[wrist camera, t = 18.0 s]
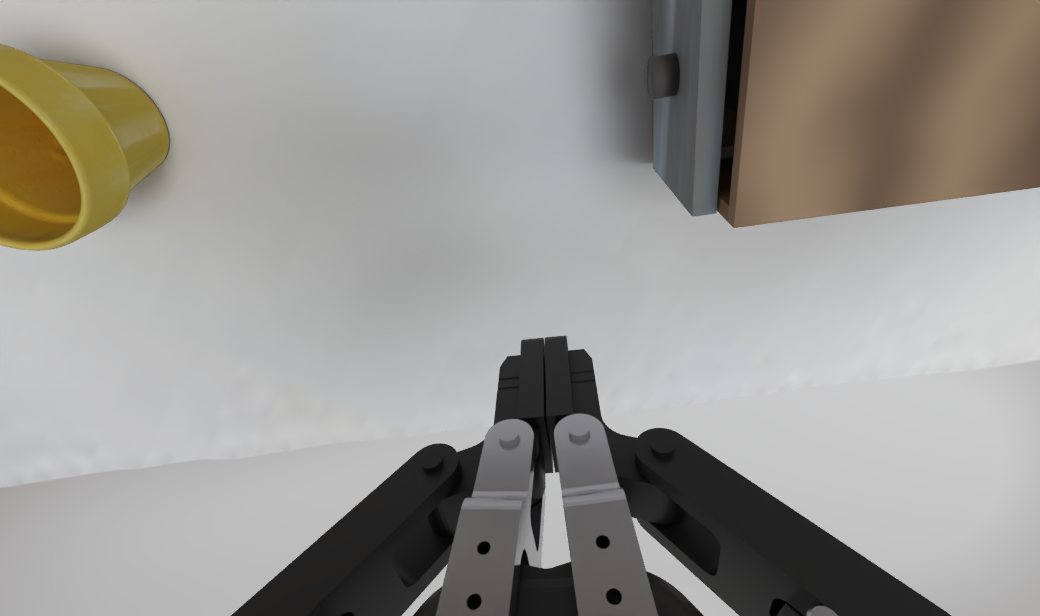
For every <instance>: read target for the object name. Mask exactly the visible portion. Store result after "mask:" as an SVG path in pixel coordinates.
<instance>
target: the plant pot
mask: <svg viewBox="0 0 1040 616" xmlns="http://www.w3.org/2000/svg"><path fill="white" fill-rule="evenodd" d="M168 149H169V135H168V130H167V127H166V124H165V121H164V119H163V117H162V115H161V113H160V111H159V110H158V108H157V107H156V105H155V104H154V103H153V101H152V100H151V99H150V98H149V97H148V96H147V94H146V93H145V92H144V91H143V90H141V89H140V88H139V87H138V86H137V85H135V84H134V83H133V82H131V81H130V80H128V79H126V78H125V77H123V76H121V75H119V74H117V73H115V72H112V71H109V70H106V69H102V68H97V67H91V66H84V65H77V64H70V63H63V62H56V61H49V60H42V59H37V58H35V57H33V56H31V55H29V54H27V53H25V52H22V51H20V50H17V49H14V48H12V47H9V46H6V45H2V44H0V245H3V246H6V247H11V248H16V249H23V250H37V251H40V250H49V249H55V248H59V247H62V246H65V245H67V244H70V243H72V242H74V241H76V240H78V239H80V238H82V237H84V236H86V235H88V234H90V233H92V232H93V231H95V230H97V229H99V228H100V227H102V226H104V225H105V224H107V223H108V222H110V221H111V220H113V219H114V218H115V217H116V216H117V215H118V214H119V213H120V212H121V211H122V209H123V207H124V206H125V204H126V202H127V199H128V196H129V192H130V191H131V190H132V189H133V188H134V187H135V186H136V185H137V184H138V183H139V182H140V181H142V180H143V179H144V178H145V177H146V176H147V175H148V174H149V173H151V172H152V171H153V170H154V169H155V168H156V167H157V166H159V165H160V164H161V163H162V162H163V161H164V159H165V158H166V156H167V153H168Z"/></svg>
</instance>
